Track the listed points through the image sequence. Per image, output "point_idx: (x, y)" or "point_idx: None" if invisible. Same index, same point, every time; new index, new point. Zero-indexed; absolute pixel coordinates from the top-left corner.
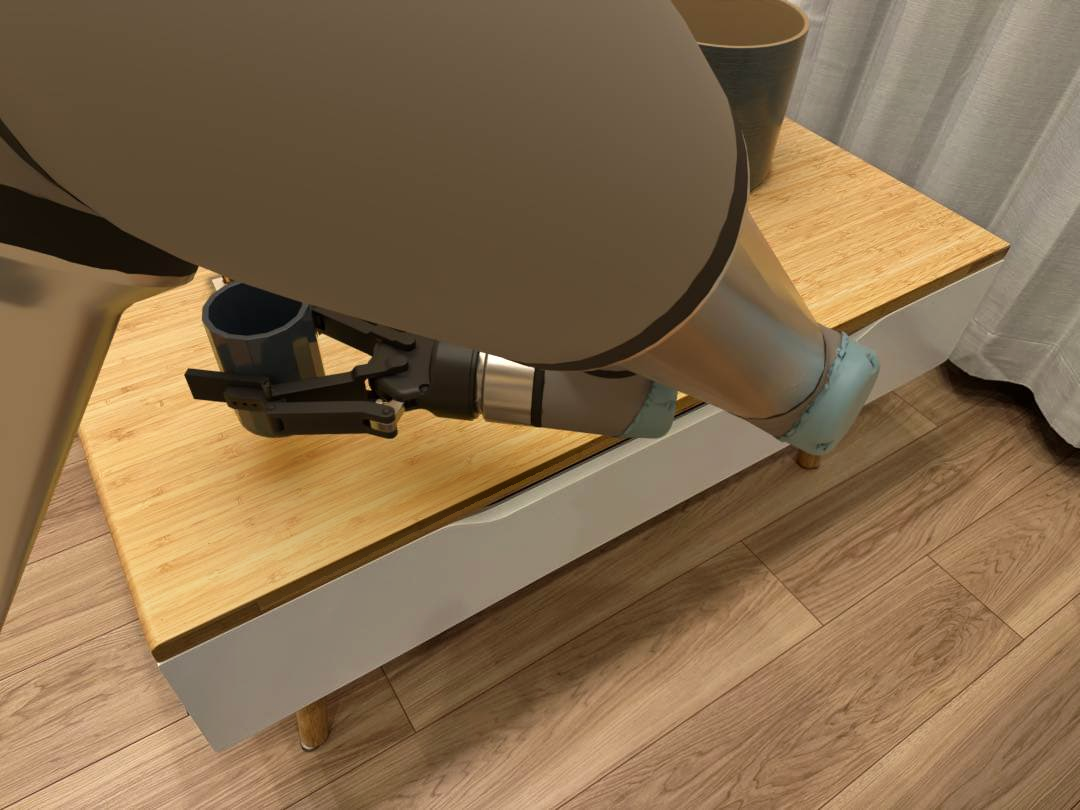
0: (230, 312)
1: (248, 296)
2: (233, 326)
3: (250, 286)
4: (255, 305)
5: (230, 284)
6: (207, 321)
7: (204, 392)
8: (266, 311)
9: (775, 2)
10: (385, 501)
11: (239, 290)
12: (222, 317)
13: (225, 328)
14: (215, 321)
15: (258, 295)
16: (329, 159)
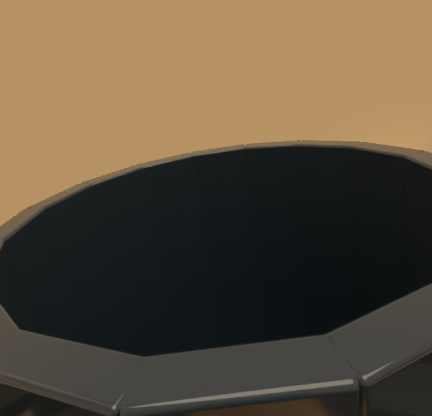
0: (278, 221)
1: (344, 207)
2: (277, 263)
3: (356, 173)
4: (355, 248)
5: (309, 142)
6: (127, 170)
7: None
8: (378, 289)
9: None
10: None
11: (321, 171)
12: (248, 218)
13: (249, 251)
14: (209, 209)
15: (370, 218)
16: None
